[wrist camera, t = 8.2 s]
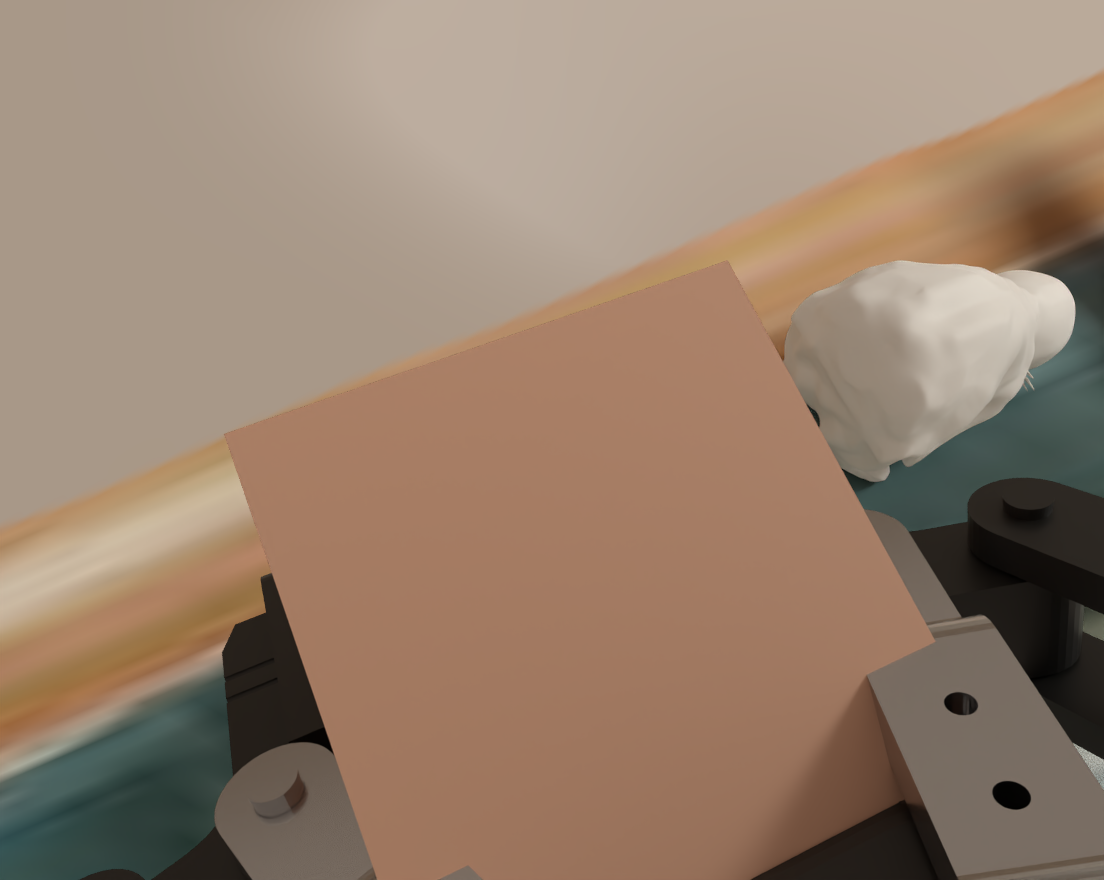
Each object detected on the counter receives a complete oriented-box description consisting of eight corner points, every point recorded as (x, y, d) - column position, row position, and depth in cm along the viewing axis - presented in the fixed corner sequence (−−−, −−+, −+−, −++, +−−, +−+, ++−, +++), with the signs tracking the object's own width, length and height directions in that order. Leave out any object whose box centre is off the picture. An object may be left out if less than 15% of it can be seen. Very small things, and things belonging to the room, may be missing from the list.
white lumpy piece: (824, 250, 27) (1104, 148, 31) (721, 375, 35) (956, 281, 39) (942, 434, 26) (1221, 303, 30) (807, 523, 34) (1043, 410, 37)
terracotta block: (587, 522, 19) (727, 260, 9) (698, 766, 17) (996, 752, 8) (345, 619, 17) (223, 434, 8) (443, 889, 16) (433, 1043, 7)
